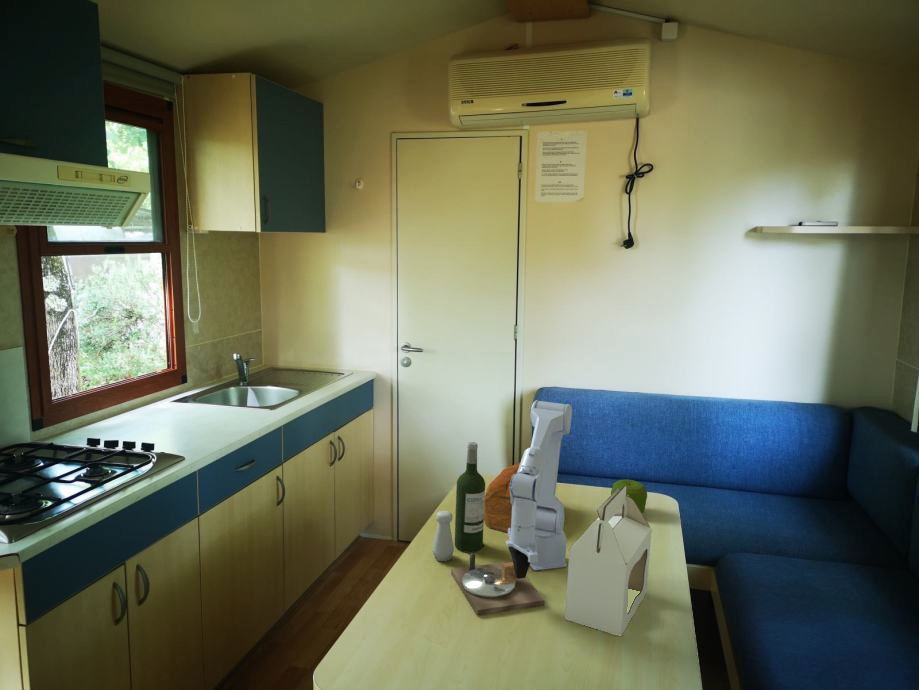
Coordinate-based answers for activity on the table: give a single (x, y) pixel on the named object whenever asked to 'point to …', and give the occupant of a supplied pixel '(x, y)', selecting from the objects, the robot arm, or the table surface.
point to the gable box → (609, 566)
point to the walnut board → (516, 600)
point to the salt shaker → (443, 537)
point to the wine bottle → (470, 505)
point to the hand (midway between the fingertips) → (520, 576)
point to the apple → (633, 492)
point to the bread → (500, 500)
